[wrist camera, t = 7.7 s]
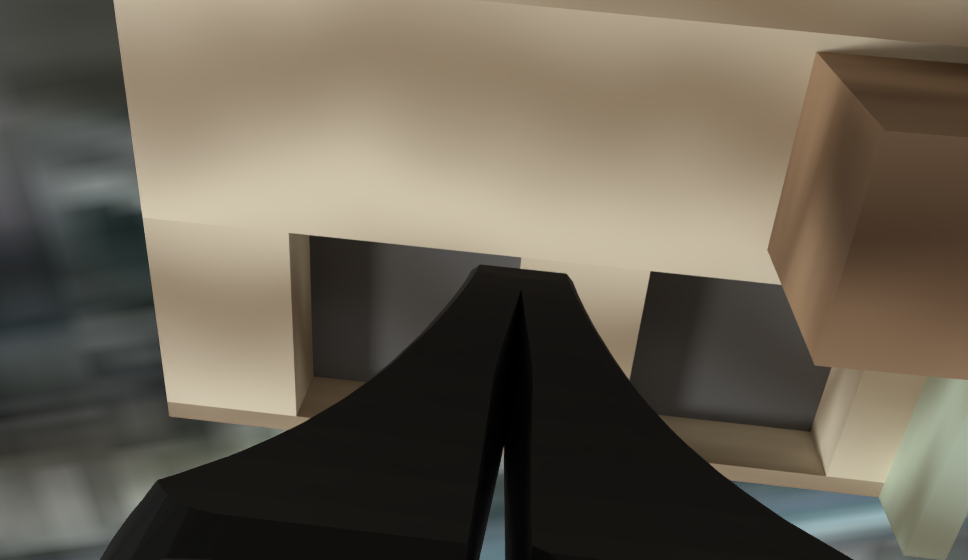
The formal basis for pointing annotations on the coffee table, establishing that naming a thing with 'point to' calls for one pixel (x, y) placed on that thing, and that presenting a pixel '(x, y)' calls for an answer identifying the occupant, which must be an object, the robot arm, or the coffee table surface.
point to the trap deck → (521, 210)
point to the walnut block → (879, 216)
